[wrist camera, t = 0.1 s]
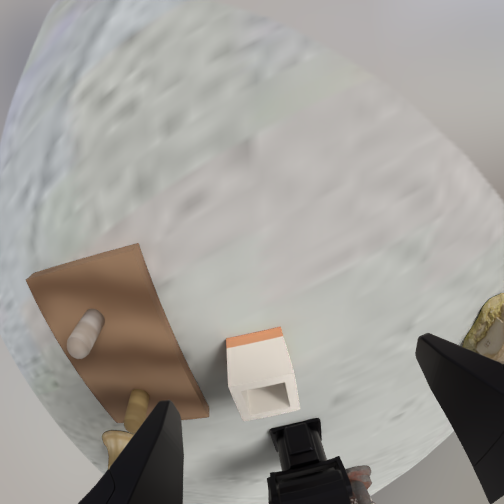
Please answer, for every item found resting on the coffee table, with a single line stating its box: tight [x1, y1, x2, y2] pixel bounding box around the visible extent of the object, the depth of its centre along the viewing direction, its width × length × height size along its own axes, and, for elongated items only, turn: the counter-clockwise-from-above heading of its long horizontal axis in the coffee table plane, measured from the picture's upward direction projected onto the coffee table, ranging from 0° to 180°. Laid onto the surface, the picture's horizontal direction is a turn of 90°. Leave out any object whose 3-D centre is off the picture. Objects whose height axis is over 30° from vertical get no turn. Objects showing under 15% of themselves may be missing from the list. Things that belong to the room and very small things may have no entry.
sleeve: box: [226, 327, 300, 421], centre depth 23 cm, size 5×5×6 cm
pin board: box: [26, 243, 209, 434], centre depth 22 cm, size 20×12×6 cm, turn 12°
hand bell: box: [102, 431, 134, 469], centre depth 24 cm, size 8×8×16 cm
